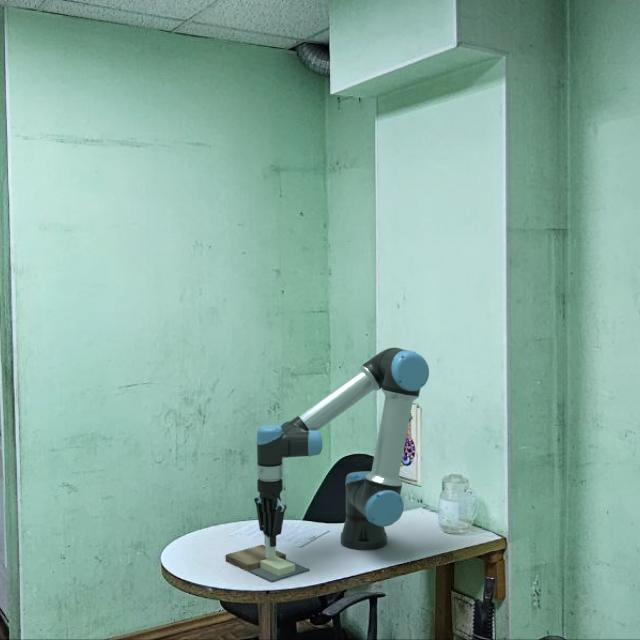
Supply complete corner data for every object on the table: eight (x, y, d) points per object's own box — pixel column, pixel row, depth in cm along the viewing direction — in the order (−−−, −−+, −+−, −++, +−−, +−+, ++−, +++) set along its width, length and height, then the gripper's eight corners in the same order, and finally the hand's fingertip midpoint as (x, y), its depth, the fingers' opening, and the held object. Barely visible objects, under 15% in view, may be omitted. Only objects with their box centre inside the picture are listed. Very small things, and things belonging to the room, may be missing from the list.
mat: (287, 561, 254) (287, 559, 254) (309, 570, 247) (309, 568, 247) (249, 572, 245) (249, 570, 245) (271, 582, 237) (271, 580, 237)
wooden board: (262, 550, 264) (262, 544, 264) (286, 560, 255) (286, 554, 255) (225, 561, 255) (225, 554, 255) (248, 571, 246) (248, 565, 246)
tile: (260, 567, 248) (260, 560, 248) (276, 562, 252) (276, 556, 252) (278, 576, 241) (278, 569, 241) (295, 571, 245) (295, 564, 245)
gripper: (246, 476, 250) (247, 553, 251) (273, 484, 240) (273, 565, 242) (266, 472, 255) (267, 548, 256) (293, 480, 245) (294, 559, 247)
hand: (270, 556), depth 249 cm, fingers closed
